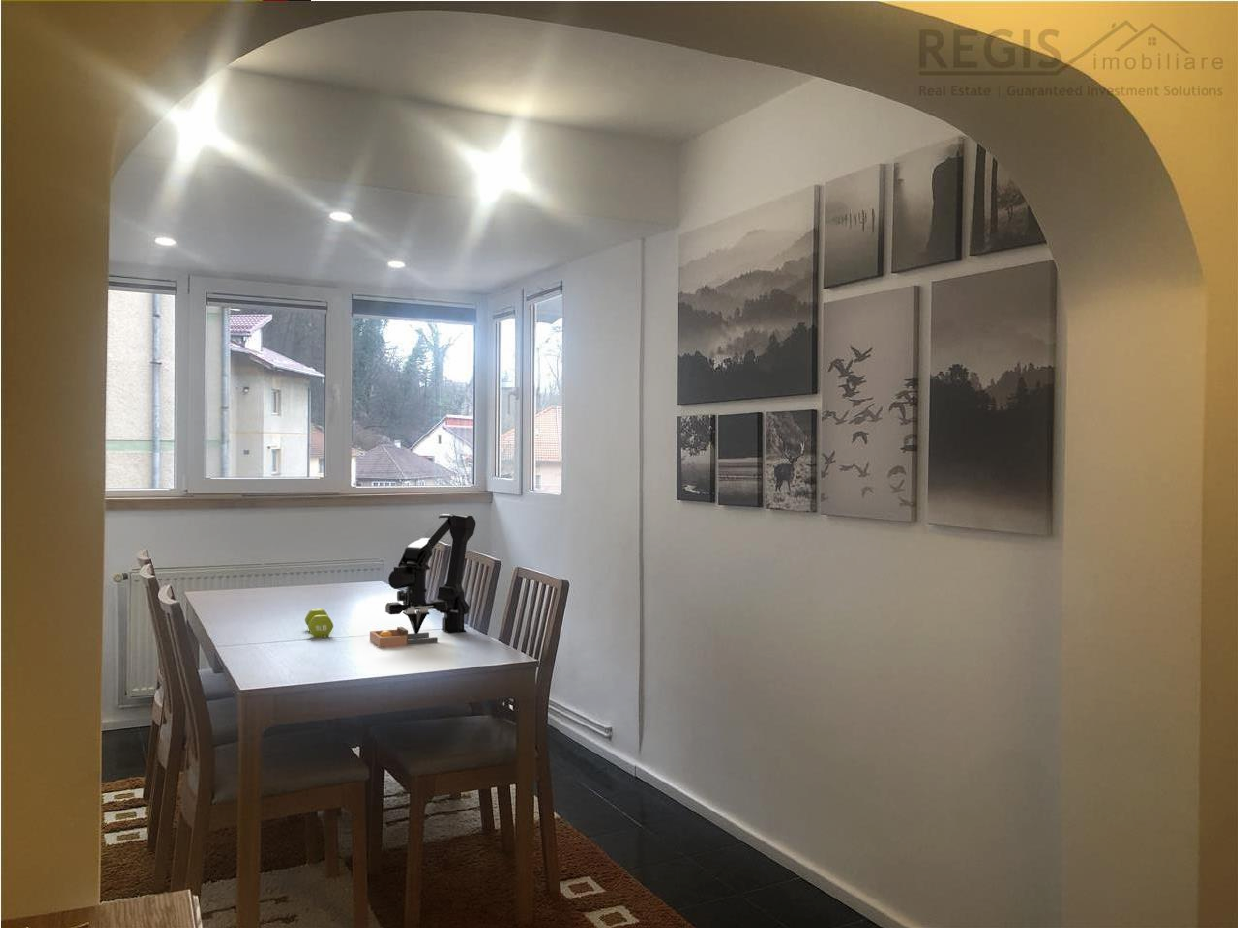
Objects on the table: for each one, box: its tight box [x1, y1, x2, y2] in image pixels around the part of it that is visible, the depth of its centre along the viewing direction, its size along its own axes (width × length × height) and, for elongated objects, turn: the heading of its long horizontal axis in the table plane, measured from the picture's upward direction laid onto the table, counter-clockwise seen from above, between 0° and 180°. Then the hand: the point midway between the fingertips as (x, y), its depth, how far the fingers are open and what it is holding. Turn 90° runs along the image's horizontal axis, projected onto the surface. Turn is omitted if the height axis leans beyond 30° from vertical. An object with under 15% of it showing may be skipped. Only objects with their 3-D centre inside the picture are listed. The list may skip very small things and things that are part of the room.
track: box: [407, 631, 439, 646], centre depth 302 cm, size 10×10×2 cm
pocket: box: [369, 628, 408, 649], centre depth 298 cm, size 8×12×3 cm
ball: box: [380, 631, 392, 637], centre depth 297 cm, size 4×4×4 cm
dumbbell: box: [304, 608, 334, 639], centre depth 311 cm, size 16×8×7 cm, turn 22°
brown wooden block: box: [396, 626, 409, 640], centre depth 300 cm, size 2×7×4 cm, turn 29°
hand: (416, 633), depth 302 cm, fingers closed
